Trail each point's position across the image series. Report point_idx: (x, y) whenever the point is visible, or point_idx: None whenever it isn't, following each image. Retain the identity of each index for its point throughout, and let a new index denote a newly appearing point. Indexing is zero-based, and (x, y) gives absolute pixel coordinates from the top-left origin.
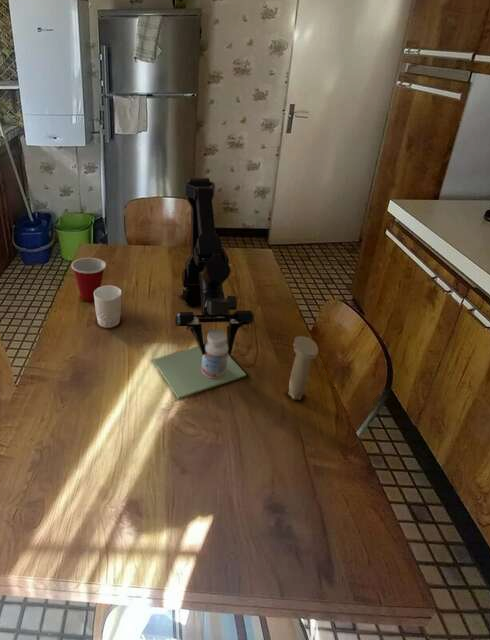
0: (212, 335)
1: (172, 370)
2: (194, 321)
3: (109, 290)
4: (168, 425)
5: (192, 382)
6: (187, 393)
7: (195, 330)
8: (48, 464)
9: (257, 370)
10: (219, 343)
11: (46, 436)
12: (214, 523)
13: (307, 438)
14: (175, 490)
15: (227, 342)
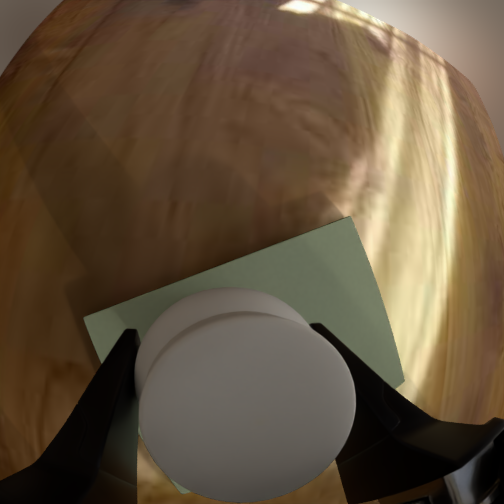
0: (310, 421)
1: (363, 340)
2: (478, 475)
3: None
4: (362, 140)
5: (304, 282)
6: (324, 228)
7: (444, 425)
8: (474, 133)
9: (44, 342)
10: (241, 315)
11: (491, 175)
12: (277, 4)
13: (41, 90)
14: (332, 40)
15: (137, 425)
